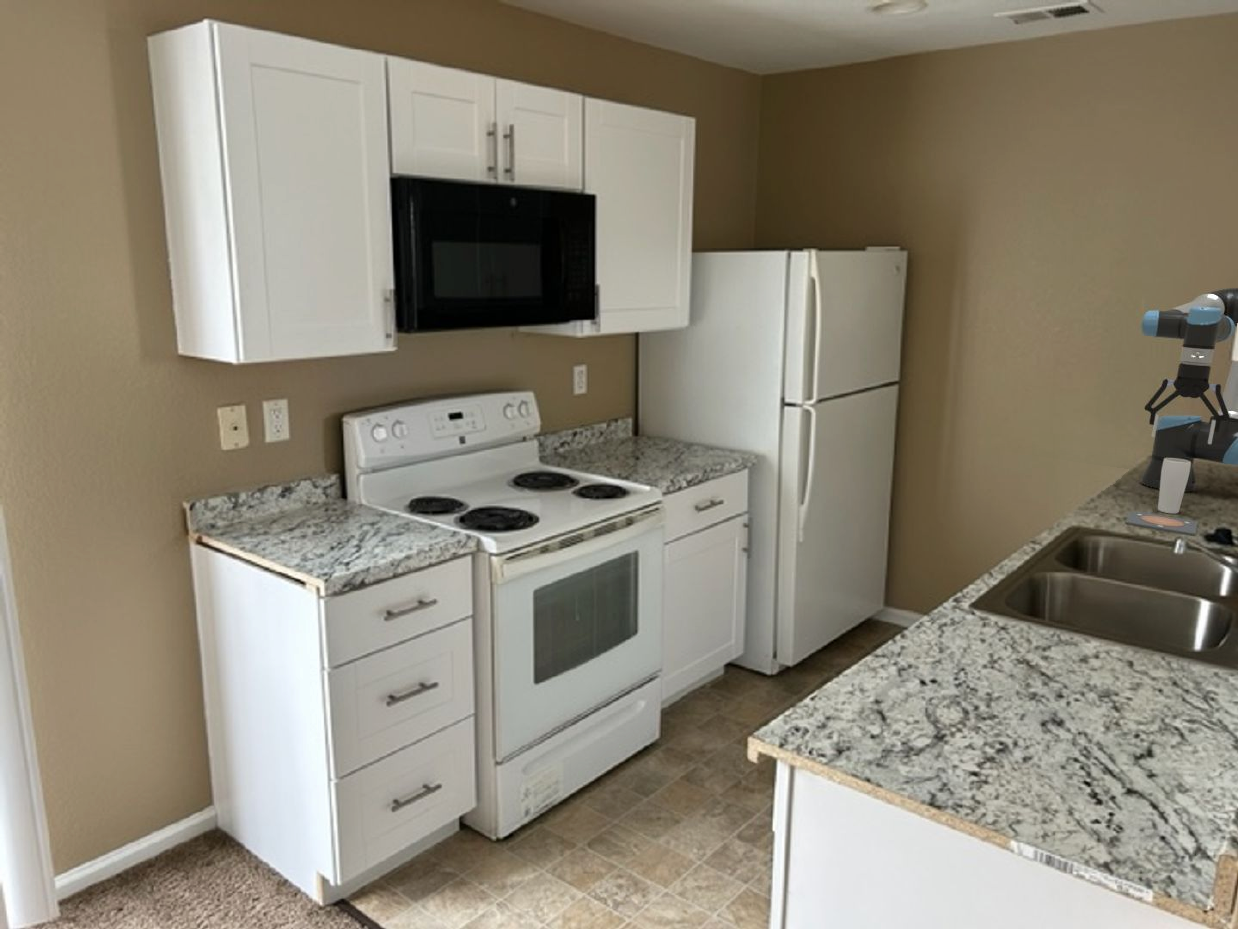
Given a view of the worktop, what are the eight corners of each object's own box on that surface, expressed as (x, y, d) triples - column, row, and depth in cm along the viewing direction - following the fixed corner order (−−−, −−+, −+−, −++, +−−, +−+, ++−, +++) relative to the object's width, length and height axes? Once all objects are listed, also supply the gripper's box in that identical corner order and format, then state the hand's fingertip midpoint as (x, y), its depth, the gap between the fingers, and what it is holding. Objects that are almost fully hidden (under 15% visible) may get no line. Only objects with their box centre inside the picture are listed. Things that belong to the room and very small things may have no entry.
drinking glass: (1174, 509, 266) (1184, 458, 263) (1186, 515, 259) (1196, 463, 256) (1149, 507, 266) (1159, 456, 263) (1161, 514, 260) (1170, 461, 257)
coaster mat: (1131, 512, 260) (1131, 509, 260) (1197, 523, 251) (1198, 520, 251) (1125, 524, 247) (1125, 521, 246) (1195, 536, 238) (1195, 533, 238)
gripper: (1143, 359, 256) (1130, 435, 261) (1250, 369, 245) (1234, 448, 249) (1143, 358, 263) (1130, 432, 267) (1248, 367, 251) (1232, 444, 256)
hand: (1180, 440), depth 258 cm, fingers open, 13 cm apart
